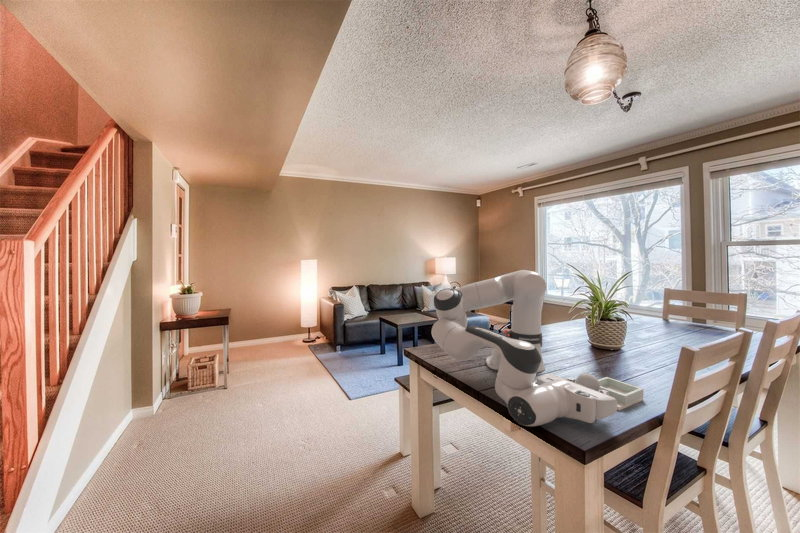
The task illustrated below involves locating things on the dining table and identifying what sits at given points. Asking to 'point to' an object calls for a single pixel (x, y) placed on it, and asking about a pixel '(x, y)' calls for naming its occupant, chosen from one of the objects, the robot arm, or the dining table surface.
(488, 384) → the dining table surface
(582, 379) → the light bulb
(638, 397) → the housing base
